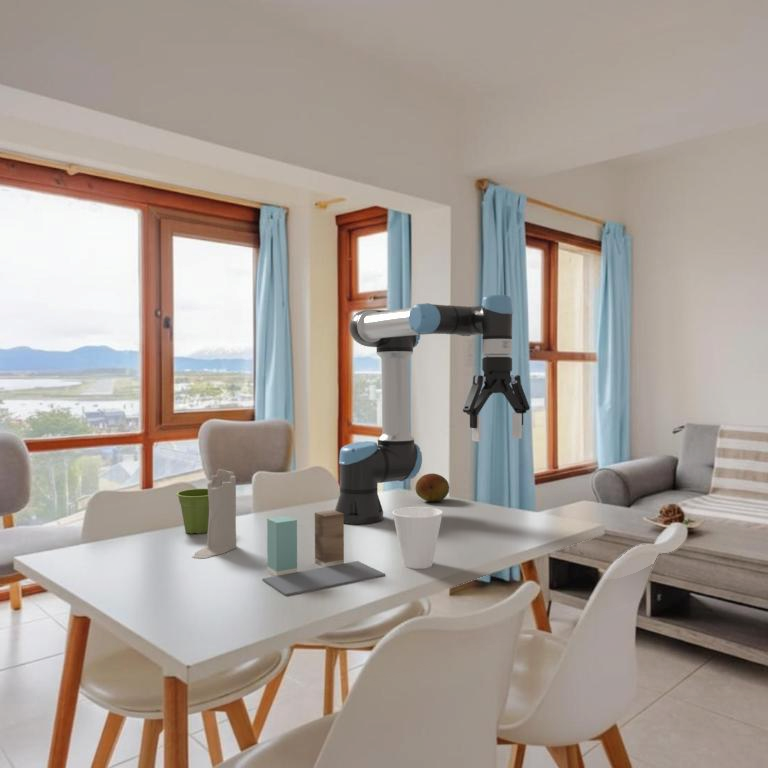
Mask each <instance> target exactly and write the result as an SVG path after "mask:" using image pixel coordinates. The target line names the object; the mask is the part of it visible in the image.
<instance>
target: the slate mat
mask: <svg viewBox="0 0 768 768" xmlns="http://www.w3.org/2000/svg"><path fill="white" fill-rule="evenodd" d="M385 576H386V573H385V572H382V571H380V570H378V569H376V568H374V567H372V566H369V565H368V564H365V563H363V562H361V561H359V560H356V561H349V562H346V563H345V562H344V564H339V565H333V566H328V567H319V568H313V569H307V570H306V569H305V570H302V571H297V572H295V573H290V574H284V575H279V576H274V575H273V576H269V577H263V578H262V580H261V581H263V582H264V583H265V584H267V585H268V586H270V587H271V586H272V588H273V589H274V588H275V589H274V590H276V591H277V590H278V591H277V592H279V593H280V594H282V595H284V596H285V597H287V596H291V595H298V594H301V593H307V592H311V591H312V592H313V591H317V590H322V589H325V588H332V587H337V586H341V585H346V584H347V585H348V584H351V583H356V582H360V581H366V580H371V579H376V578H380V577H385Z"/></svg>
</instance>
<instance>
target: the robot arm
mask: <svg viewBox="0 0 768 768" xmlns="http://www.w3.org/2000/svg"><path fill="white" fill-rule="evenodd" d="M513 314H514V311H513V300H512V298H511V297H510V296H509V295H506V294H489V295H488V294H487V295H485V296H483V297H482V302H481V305H475V306H467V305H465V306H463V305H445V304H434V303H428V302H427V303H417V304H415V305H414V306H413V307H406V308H399V309H393V310H389V309H388V310H385V309H364V310H360V311H358V312H357V313H355V314H354V315H353V317H351V319H350V322H349V333H350V335H351V338H353V340H354V341H355V342H356V343H358V344H360V346H364V347H369V348H376V355H378V357H380V359H381V364H380V365H381V417H382V418H381V420H382V421H381V423H382V424H381V427H382V428H381V429H382V433H381V435H380V436H379V437H378V438H377V441H372V440H371V441H368V440H367V441H358V442H352V443H349V444H346V445H343V446H342V447H341V448H340V450H339V460H338V464H339V496H338V499H337V503H336V506H335V508H334V510H335V511H338V512H340V513H343V514H344V524H348V525H367V524H374V523H378V522H382V521H383V520H384V510H383V506H382V504H381V500H380V498H379V494H378V485H379V484H381V483H390V482H391V483H392V482H404V481H407V480H412V479H413V478H415V477H416V476H417V475H418V474H419V473H420V470H421V468H422V463H423V453H422V451H421V448H420V446H419V445H418V444H416V443H415V437H413V435H411V433H410V398H409V397H410V395H409V394H410V393H409V390H410V389H409V380H410V379H409V378H410V377H409V358H410V357H411V356H412V355H413V353H414V348H416V347H417V346H418V344H419V342H420V340H421V336H422V335H423V336H424V335H438V334H439V335H457V336H462V337H470V336H475V335H482V339H481V340H482V341H481V342H482V343H481V345H482V346H481V349H482V350H481V354H482V356H483V357H482V359H481V360H482V361H481V362H482V363H481V365H482V367H481V370H482V372H483V375H481V374H479V375H476V374H475V375H473V377H472V378H473V379H472V386H471V387H470V390H469V392H468V395H467V398H466V400H465V403H464V405H463V408H462V412H463V413H466V415H469V427H470V428H471V441H472V442H478V443H479V442H482V415H480V413H481V411H482V409H483V407H484V406H485V404H486V403H487V401H488V400H489V398H490V396H492V395H493V394H502V395H504V397H505V398H506V400H507V401H508V403H509V404H510V406H511V407H512V409H513V411H514V412H512V415H511V416H512V422H511V423H512V426H511V427H512V428H511V429H512V432H511V433H512V434H511V435H512V437H511V438H512V439H520V440H521V439H522V438H523V436H522V435H523V434H522V433H523V430H522V429H523V428H522V427H523V426H524V414H526V413H528V412H527V411H530V408H531V407H530V404H529V402H528V400H527V396H526V394H525V392H524V391H525V390H524V388H523V386H522V382H521V376H520V375H519V374H515V375H513V374H512V375H511V372H512V371H513V358H512V357H510V356H511V355H512V354H513ZM483 384H484V385H483Z"/></svg>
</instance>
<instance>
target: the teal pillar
mask: <svg viewBox="0 0 768 768" xmlns="http://www.w3.org/2000/svg"><path fill="white" fill-rule="evenodd" d="M266 521H267V525H266V527H267V530H266V531H267V534H266V535H267V536H266V537H267V538H266V539H267V540H266V542H267V546H266V547H267V572H268V573H269V574H271V575H272V576H273V577H274V576H279V575H284V574H290V573H295V572H298V520H297V519H295V518H293V517H291V516H288V515H286V516H277V517H271V518H266Z"/></svg>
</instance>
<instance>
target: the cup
mask: <svg viewBox="0 0 768 768" xmlns="http://www.w3.org/2000/svg"><path fill="white" fill-rule="evenodd" d="M443 514H444V512H443V511H442V509H440V508H435V507H428V506H409V507H408V506H407V507H400V508H396V509H393V510H392V516H393V520H394V526H395V530H396V534H397V535H396V536H397V539H398V540H397V541H398V544H399V545H398V546H399V550H400V555H401V560H402V565H403V566H404V567H406V568H409V569H415V570H417V569H418V570H422V569H428V568H431V567H432V566H433V563H434V559H435V554H436V548H437V542H438V538H439V533H440V528H441V523H442V519H443V518H442V517H443Z"/></svg>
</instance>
